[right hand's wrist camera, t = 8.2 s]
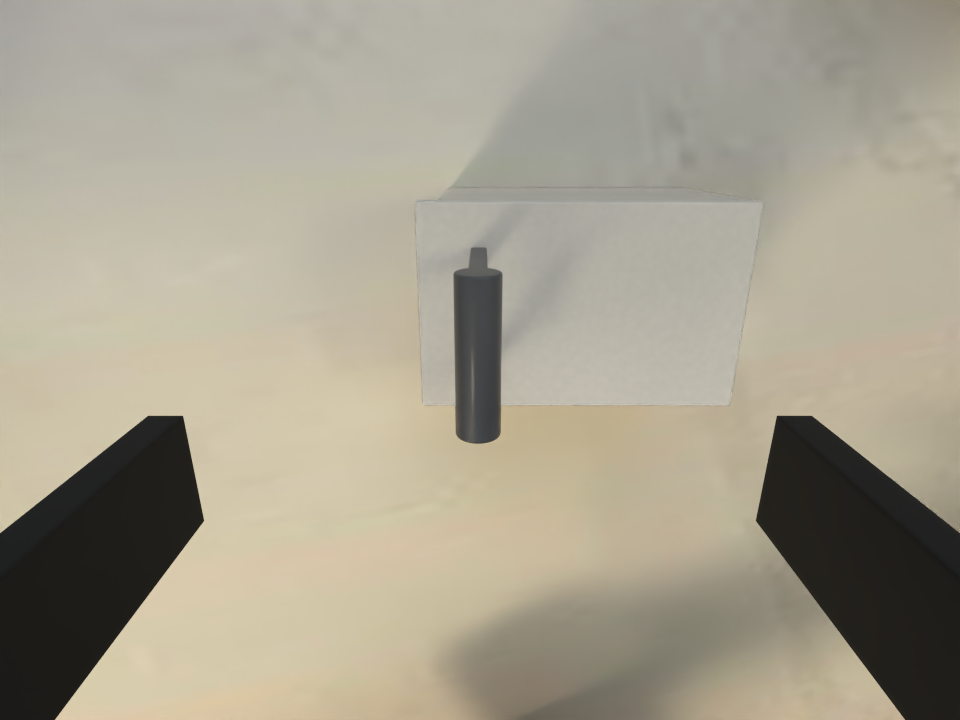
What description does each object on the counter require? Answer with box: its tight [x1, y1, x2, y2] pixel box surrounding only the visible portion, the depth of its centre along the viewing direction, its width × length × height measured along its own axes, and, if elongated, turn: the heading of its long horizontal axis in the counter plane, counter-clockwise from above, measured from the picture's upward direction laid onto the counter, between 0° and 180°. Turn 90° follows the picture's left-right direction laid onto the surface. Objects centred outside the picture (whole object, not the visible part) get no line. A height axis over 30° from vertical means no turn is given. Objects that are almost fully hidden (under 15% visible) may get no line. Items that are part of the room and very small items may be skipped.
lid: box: [415, 200, 764, 443], centre depth 23 cm, size 15×10×8 cm, turn 90°
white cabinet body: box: [439, 188, 750, 200], centre depth 31 cm, size 14×10×10 cm
